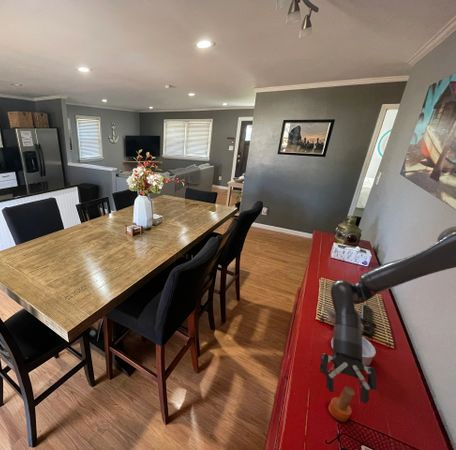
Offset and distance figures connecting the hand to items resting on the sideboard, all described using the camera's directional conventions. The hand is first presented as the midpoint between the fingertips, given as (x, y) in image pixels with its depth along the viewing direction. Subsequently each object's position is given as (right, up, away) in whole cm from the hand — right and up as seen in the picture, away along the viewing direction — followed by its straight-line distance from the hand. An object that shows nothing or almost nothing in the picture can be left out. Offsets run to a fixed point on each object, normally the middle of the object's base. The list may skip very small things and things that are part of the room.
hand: (347, 396), depth 74 cm
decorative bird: (+27, +6, +38) cm, 46 cm away
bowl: (+21, +1, +25) cm, 32 cm away
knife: (+43, +7, +43) cm, 61 cm away
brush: (0, -8, +4) cm, 8 cm away
